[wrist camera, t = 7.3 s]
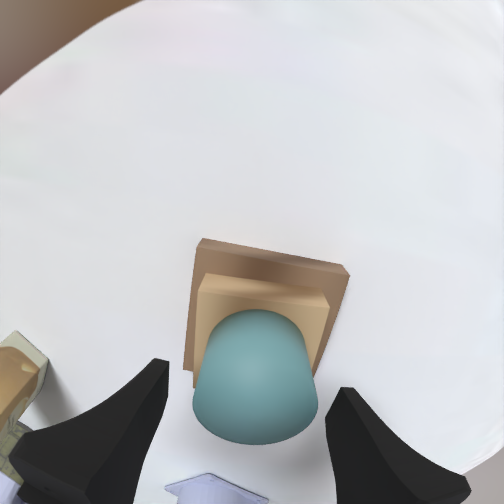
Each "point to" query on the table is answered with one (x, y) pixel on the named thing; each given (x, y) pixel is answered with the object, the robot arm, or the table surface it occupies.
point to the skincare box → (18, 379)
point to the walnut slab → (264, 269)
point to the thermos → (3, 450)
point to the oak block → (257, 297)
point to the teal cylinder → (255, 380)
